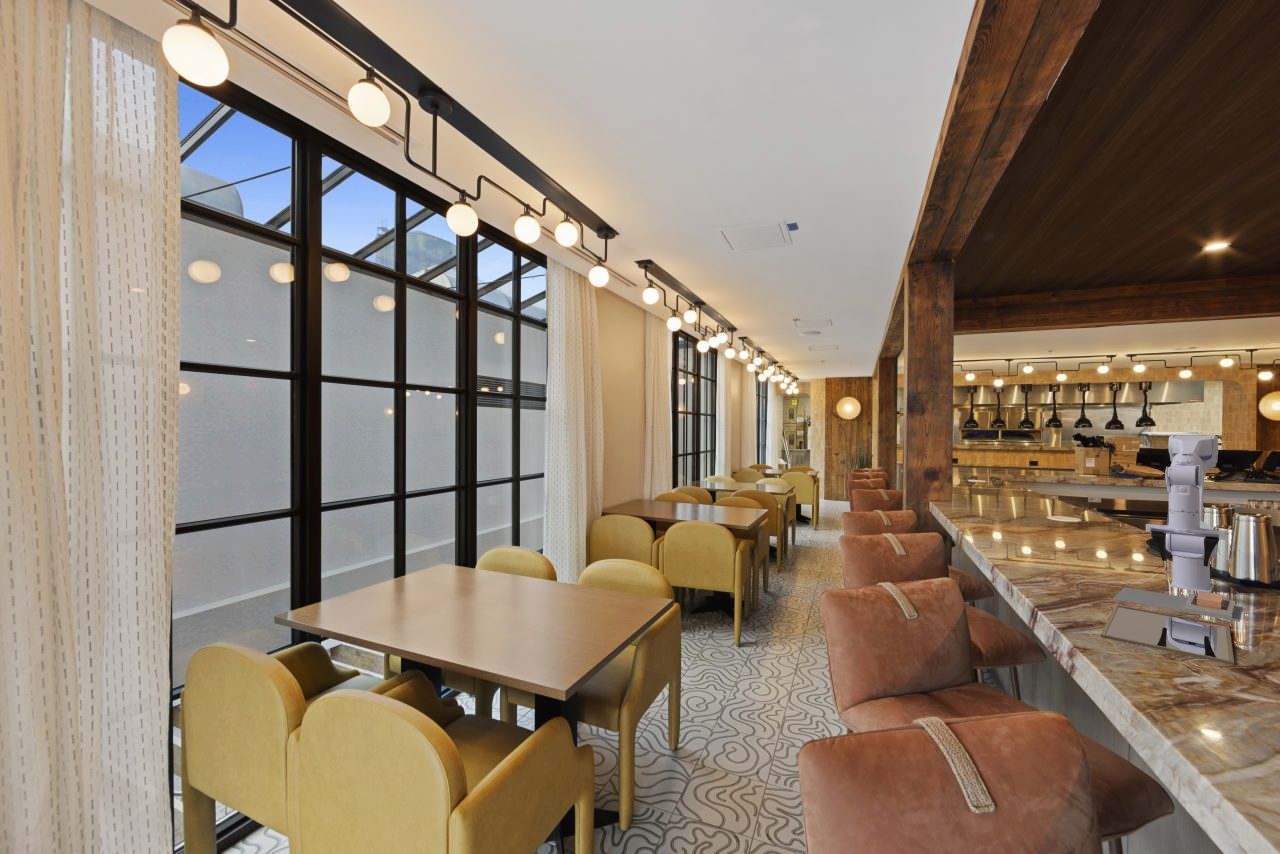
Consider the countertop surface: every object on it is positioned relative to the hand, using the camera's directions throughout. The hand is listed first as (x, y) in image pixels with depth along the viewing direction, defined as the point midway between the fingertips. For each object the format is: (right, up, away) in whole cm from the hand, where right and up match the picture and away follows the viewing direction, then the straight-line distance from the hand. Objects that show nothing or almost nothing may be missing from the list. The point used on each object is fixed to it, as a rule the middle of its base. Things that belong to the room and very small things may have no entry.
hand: (1184, 563), depth 140 cm
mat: (-6, -9, -4) cm, 12 cm away
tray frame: (-2, -9, -8) cm, 13 cm away
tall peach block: (-2, -9, -9) cm, 13 cm away
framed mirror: (-27, -10, -22) cm, 36 cm away
